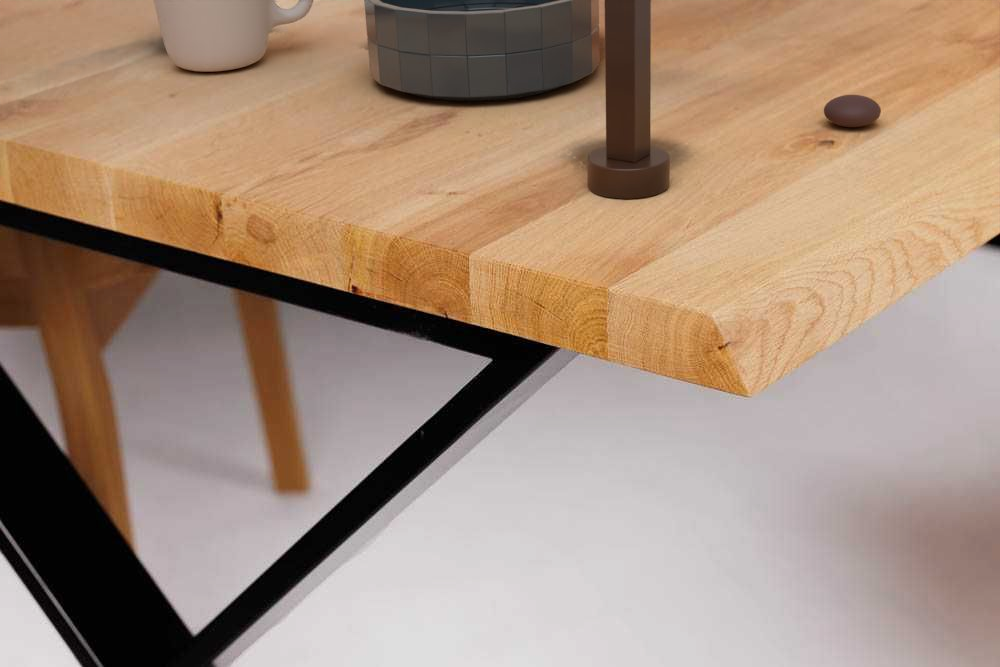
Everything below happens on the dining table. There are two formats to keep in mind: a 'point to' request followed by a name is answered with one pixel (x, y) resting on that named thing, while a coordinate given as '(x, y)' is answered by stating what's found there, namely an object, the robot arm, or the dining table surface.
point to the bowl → (481, 46)
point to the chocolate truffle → (852, 110)
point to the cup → (221, 30)
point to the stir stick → (628, 109)
